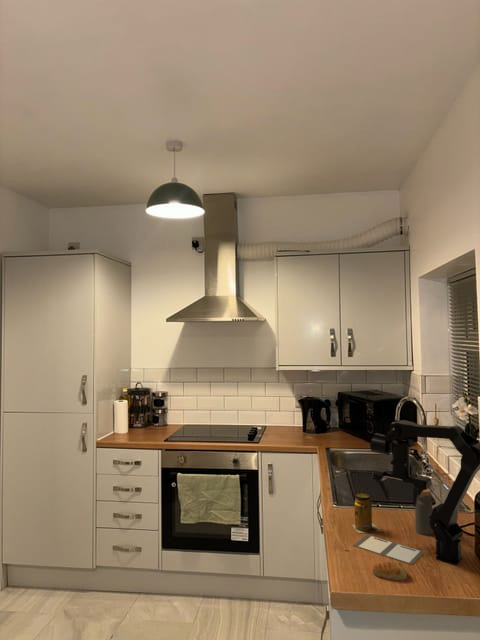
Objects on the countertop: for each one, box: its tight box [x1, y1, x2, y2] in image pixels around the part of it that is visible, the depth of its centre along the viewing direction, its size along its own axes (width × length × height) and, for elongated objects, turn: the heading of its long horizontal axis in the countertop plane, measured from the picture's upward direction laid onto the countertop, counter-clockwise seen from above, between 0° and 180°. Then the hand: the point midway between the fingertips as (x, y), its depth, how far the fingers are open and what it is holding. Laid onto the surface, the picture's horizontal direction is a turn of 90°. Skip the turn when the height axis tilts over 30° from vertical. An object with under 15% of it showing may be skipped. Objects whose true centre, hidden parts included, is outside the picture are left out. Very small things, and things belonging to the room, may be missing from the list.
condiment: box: [351, 493, 381, 534], centre depth 168 cm, size 7×8×12 cm
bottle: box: [414, 488, 434, 536], centre depth 165 cm, size 6×6×15 cm
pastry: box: [372, 560, 408, 581], centre depth 136 cm, size 9×7×4 cm
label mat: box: [352, 533, 425, 566], centre depth 152 cm, size 20×11×1 cm, turn 49°
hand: (401, 503), depth 158 cm, fingers open, 9 cm apart
